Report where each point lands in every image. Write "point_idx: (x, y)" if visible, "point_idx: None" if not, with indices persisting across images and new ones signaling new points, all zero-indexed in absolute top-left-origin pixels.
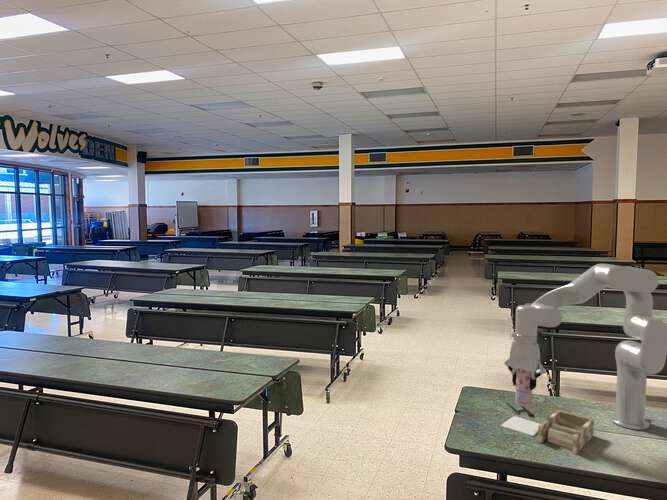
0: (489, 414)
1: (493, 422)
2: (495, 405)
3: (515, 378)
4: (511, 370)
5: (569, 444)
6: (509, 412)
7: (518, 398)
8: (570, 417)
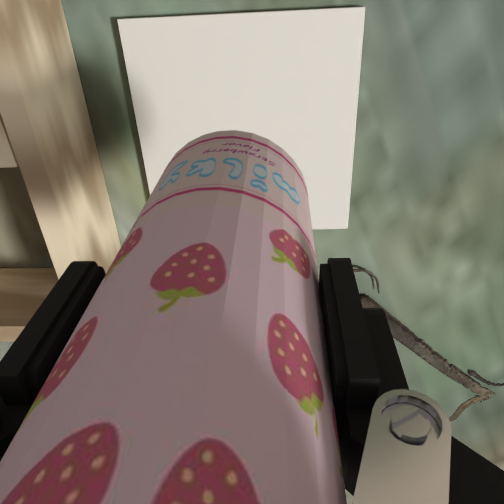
0: (495, 156)
1: (432, 41)
2: (492, 302)
3: (330, 341)
4: (467, 484)
5: None
6: (391, 268)
7: (247, 153)
8: (21, 313)
